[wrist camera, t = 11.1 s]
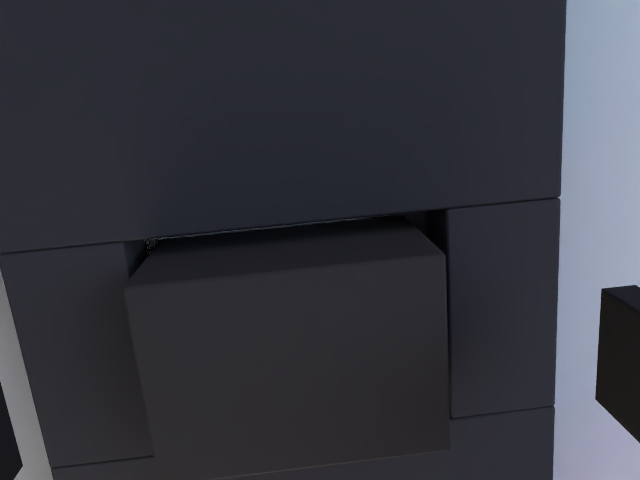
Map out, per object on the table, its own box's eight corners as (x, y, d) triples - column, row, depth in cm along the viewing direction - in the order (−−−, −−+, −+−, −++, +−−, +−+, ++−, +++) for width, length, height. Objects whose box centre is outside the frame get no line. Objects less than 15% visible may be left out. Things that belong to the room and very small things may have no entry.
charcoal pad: (-23, -1, 14) (-72, -16, 12) (530, -43, 14) (570, -64, 12) (112, 583, 18) (92, 640, 16) (522, 528, 19) (550, 577, 17)
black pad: (159, 239, 15) (120, 287, 12) (405, 214, 16) (446, 253, 12) (185, 397, 17) (158, 488, 13) (412, 371, 17) (451, 452, 13)
